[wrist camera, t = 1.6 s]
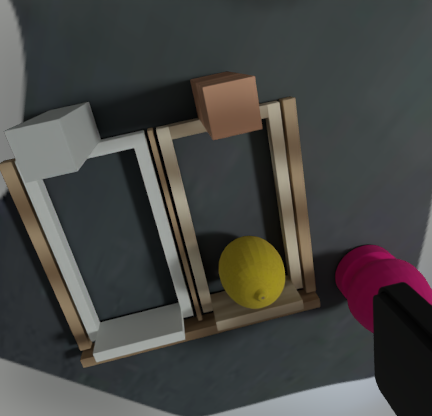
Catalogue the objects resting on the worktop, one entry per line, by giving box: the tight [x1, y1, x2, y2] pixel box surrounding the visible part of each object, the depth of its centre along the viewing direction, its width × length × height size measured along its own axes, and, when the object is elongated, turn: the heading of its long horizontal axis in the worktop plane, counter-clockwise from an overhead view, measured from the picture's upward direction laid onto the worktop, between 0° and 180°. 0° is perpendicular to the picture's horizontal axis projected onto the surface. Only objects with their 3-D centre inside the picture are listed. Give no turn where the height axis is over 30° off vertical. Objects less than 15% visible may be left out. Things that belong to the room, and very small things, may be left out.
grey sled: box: [4, 102, 193, 362], centre depth 28 cm, size 21×10×9 cm, turn 11°
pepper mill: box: [335, 245, 432, 333], centre depth 29 cm, size 7×7×20 cm
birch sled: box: [156, 72, 304, 331], centre depth 29 cm, size 21×10×9 cm, turn 11°
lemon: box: [219, 236, 285, 309], centre depth 32 cm, size 6×6×8 cm
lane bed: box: [0, 97, 320, 368], centre depth 33 cm, size 20×24×2 cm
